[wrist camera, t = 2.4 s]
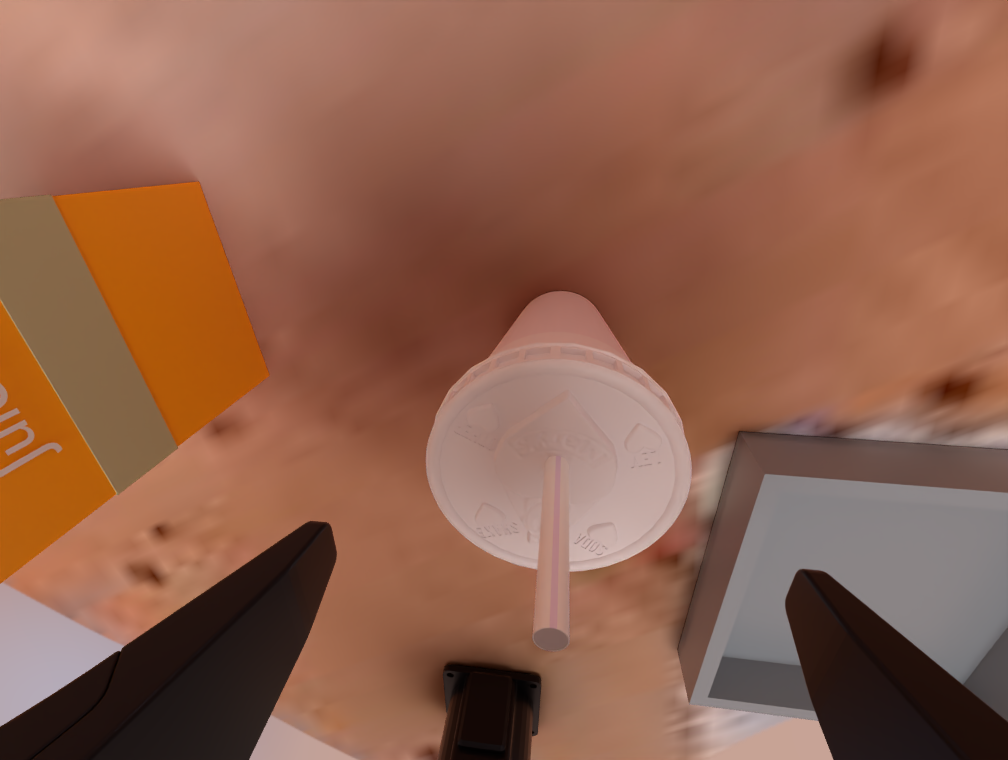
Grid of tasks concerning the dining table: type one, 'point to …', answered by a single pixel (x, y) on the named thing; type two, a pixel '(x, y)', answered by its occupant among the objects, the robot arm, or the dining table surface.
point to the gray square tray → (850, 562)
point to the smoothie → (558, 453)
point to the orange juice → (108, 349)
